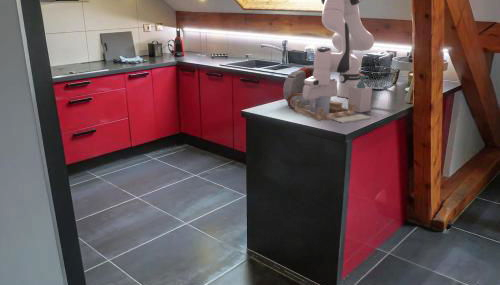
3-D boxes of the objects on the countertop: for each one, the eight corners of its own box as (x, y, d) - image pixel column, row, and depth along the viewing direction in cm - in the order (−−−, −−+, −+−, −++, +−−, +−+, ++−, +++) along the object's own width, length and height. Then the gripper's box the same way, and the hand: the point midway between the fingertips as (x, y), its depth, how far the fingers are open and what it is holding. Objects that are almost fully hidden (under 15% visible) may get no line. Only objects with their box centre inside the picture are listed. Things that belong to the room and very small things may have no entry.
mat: (360, 115, 221) (361, 114, 220) (370, 118, 215) (370, 117, 215) (332, 119, 212) (332, 118, 211) (342, 123, 206) (342, 122, 206)
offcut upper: (326, 105, 229) (327, 100, 228) (341, 108, 223) (342, 102, 222) (323, 106, 226) (323, 101, 225) (338, 109, 220) (338, 104, 220)
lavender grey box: (314, 111, 227) (315, 92, 224) (328, 116, 217) (330, 97, 214) (309, 111, 226) (310, 93, 222) (324, 117, 216) (325, 98, 212)
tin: (311, 106, 237) (312, 91, 234) (313, 107, 234) (314, 92, 231) (286, 108, 232) (287, 93, 229) (289, 109, 229) (289, 94, 227)
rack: (327, 106, 237) (328, 96, 235) (353, 115, 220) (354, 104, 218) (294, 111, 226) (295, 100, 224) (319, 121, 209) (320, 109, 207)
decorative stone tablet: (310, 63, 253) (281, 74, 232) (320, 64, 249) (291, 76, 228) (310, 95, 260) (281, 108, 239) (319, 96, 256) (291, 110, 235)
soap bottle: (359, 112, 225) (363, 77, 219) (347, 109, 232) (350, 74, 225) (370, 110, 230) (374, 75, 224) (357, 107, 236) (361, 73, 230)
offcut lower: (327, 110, 231) (327, 105, 230) (342, 114, 223) (343, 109, 222) (320, 111, 228) (321, 106, 227) (336, 116, 220) (336, 110, 219)
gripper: (333, 77, 223) (331, 103, 227) (301, 80, 213) (300, 107, 218) (341, 79, 218) (338, 105, 222) (309, 82, 208) (307, 110, 213)
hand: (319, 106), depth 220 cm, fingers open, 5 cm apart
